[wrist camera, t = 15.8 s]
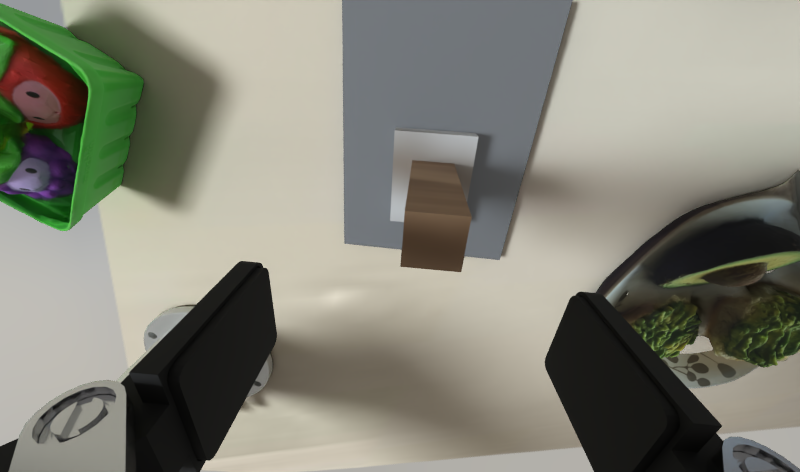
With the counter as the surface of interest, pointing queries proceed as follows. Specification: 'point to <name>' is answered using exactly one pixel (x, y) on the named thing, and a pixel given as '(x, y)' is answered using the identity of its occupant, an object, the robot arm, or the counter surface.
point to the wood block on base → (432, 195)
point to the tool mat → (444, 101)
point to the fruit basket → (60, 120)
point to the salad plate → (718, 286)
